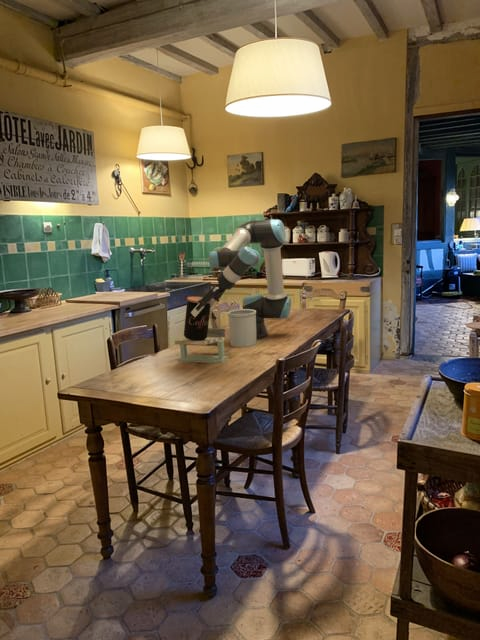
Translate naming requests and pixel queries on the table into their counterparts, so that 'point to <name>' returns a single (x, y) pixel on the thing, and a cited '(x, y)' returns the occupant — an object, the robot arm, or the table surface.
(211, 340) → the seesaw plank
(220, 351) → the seesaw stand
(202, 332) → the coffee jar
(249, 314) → the utensil holder
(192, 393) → the table surface
